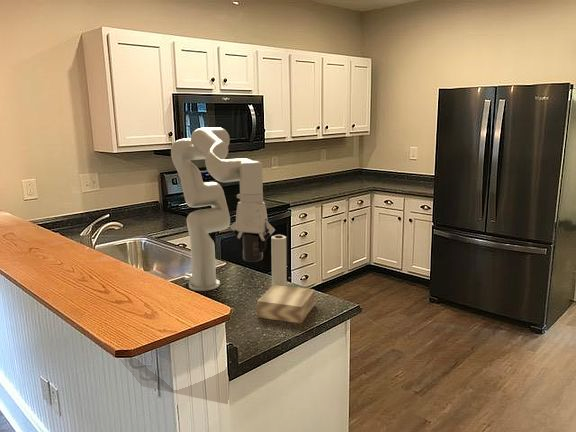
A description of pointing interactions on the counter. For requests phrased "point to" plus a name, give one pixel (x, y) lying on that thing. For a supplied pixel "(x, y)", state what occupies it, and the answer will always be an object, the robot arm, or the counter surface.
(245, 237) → the supplement bottle
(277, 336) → the counter surface
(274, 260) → the paper towel roll
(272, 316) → the maple block
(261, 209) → the robot arm
